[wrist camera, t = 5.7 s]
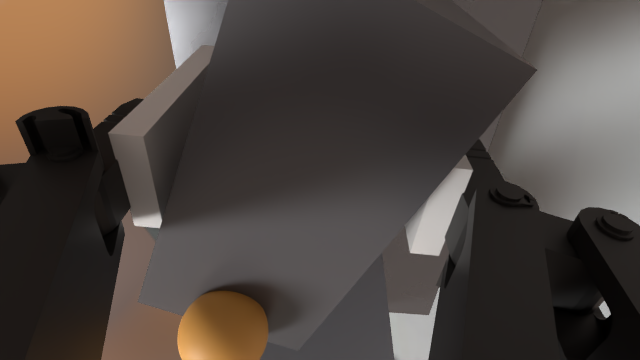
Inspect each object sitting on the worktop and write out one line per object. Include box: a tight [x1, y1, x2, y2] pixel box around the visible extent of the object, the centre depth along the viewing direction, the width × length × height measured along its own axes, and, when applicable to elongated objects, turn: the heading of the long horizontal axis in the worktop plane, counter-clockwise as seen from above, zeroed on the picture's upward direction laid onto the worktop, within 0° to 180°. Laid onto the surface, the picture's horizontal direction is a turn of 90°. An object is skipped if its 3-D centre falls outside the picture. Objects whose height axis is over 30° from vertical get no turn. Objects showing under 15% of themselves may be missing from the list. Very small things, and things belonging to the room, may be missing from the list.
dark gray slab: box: [138, 0, 537, 360], centre depth 11 cm, size 10×5×10 cm, turn 155°
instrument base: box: [164, 0, 542, 360], centre depth 14 cm, size 20×14×16 cm
